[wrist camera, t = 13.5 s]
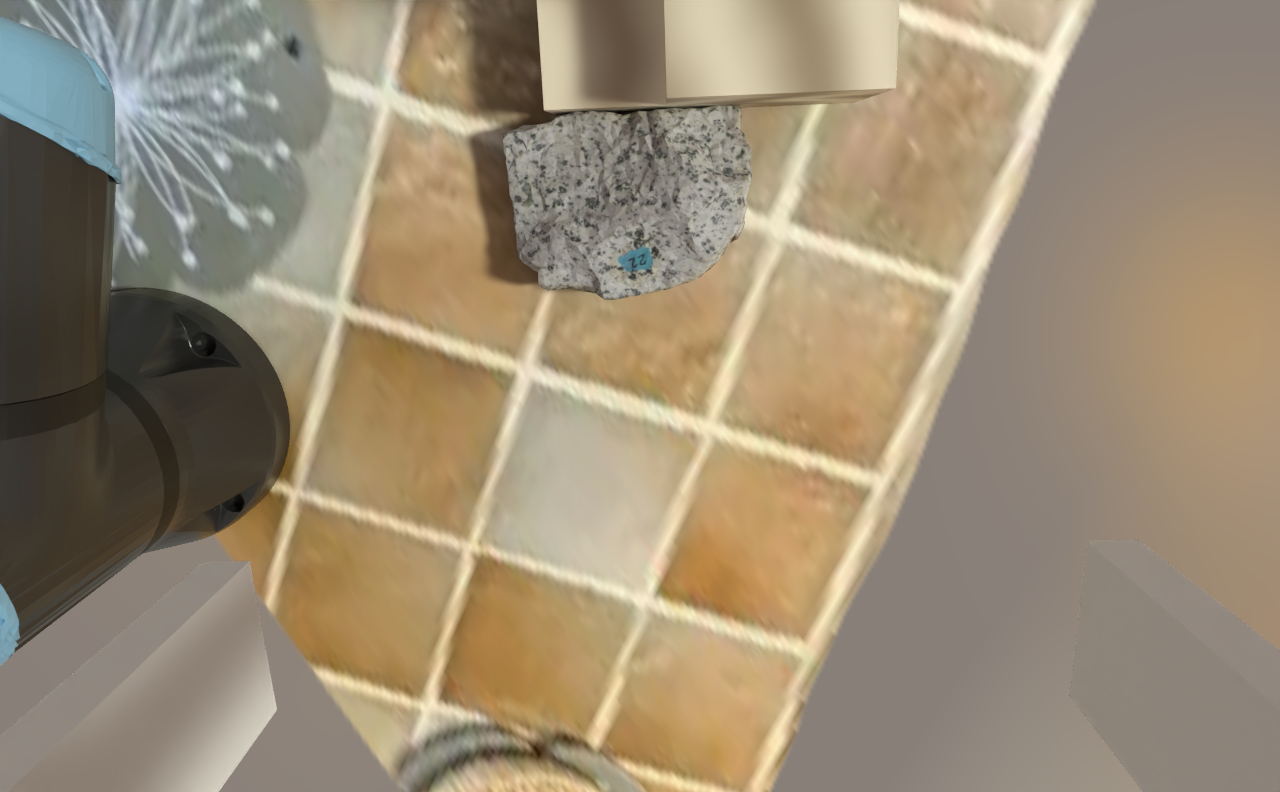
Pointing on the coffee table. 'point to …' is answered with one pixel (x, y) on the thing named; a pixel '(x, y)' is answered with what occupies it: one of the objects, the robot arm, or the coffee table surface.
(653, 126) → the rock
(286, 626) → the coffee table surface
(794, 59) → the stand
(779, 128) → the coffee table surface
